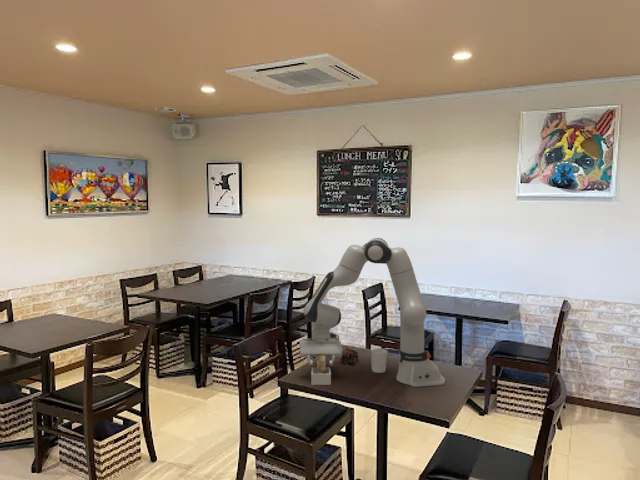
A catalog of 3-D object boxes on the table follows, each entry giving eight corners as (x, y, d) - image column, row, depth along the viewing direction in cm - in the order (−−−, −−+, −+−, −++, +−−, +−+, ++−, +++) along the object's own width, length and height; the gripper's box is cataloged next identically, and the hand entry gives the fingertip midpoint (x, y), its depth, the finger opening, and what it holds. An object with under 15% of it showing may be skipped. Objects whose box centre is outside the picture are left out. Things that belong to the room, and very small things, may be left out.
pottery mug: (335, 361, 252) (341, 346, 255) (351, 368, 254) (356, 353, 257) (344, 362, 241) (350, 347, 244) (360, 369, 243) (365, 354, 246)
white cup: (386, 374, 233) (386, 354, 232) (370, 372, 234) (370, 353, 233) (387, 368, 240) (387, 349, 239) (371, 367, 242) (371, 348, 241)
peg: (325, 379, 225) (325, 354, 224) (325, 382, 221) (325, 357, 220) (316, 379, 225) (316, 354, 224) (316, 382, 221) (317, 357, 220)
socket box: (330, 377, 227) (330, 367, 227) (330, 384, 219) (330, 374, 218) (311, 377, 227) (311, 367, 227) (311, 384, 218) (311, 374, 218)
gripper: (299, 335, 228) (298, 361, 219) (341, 335, 228) (342, 361, 219) (299, 341, 233) (299, 367, 224) (341, 341, 233) (342, 367, 224)
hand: (321, 364), depth 222 cm, fingers open, 8 cm apart
